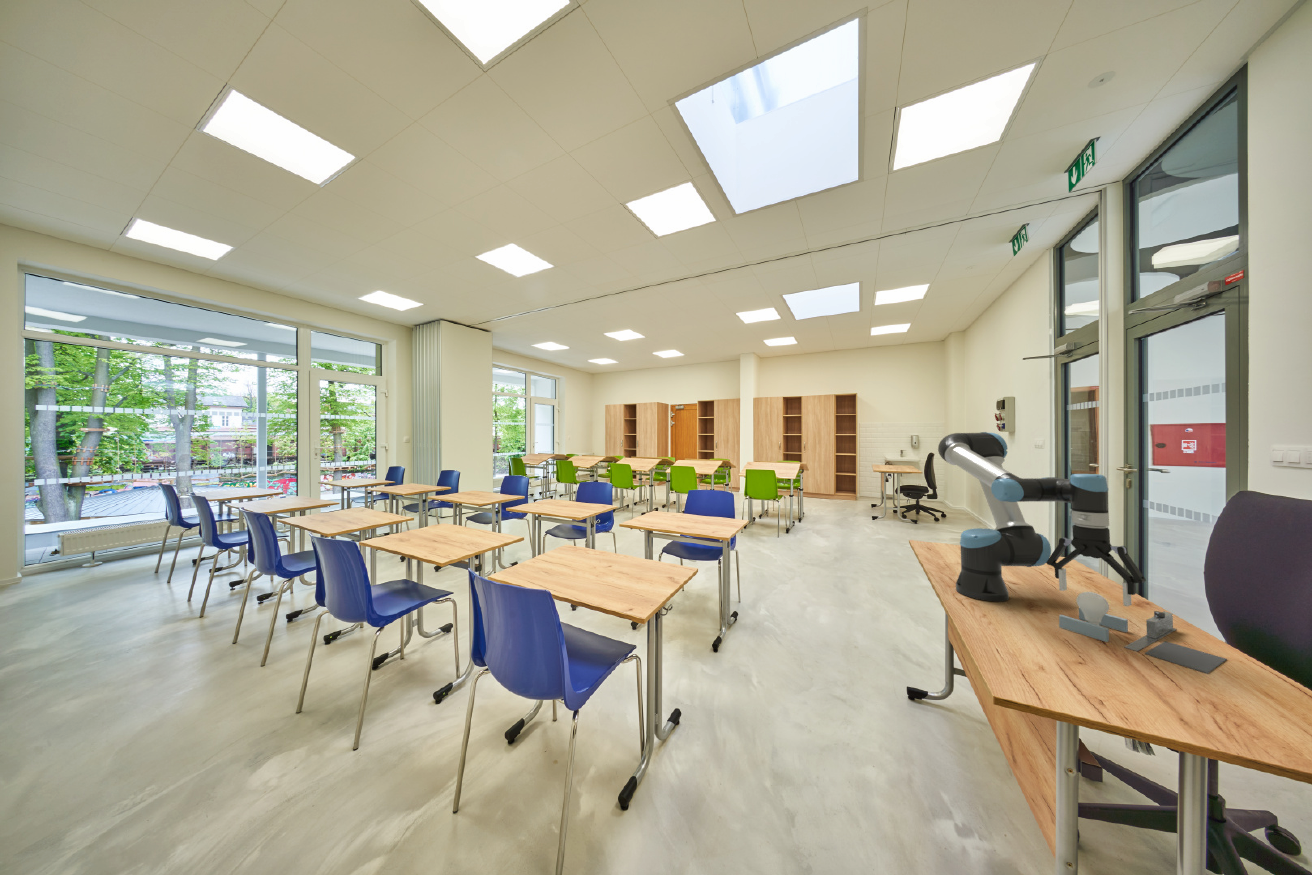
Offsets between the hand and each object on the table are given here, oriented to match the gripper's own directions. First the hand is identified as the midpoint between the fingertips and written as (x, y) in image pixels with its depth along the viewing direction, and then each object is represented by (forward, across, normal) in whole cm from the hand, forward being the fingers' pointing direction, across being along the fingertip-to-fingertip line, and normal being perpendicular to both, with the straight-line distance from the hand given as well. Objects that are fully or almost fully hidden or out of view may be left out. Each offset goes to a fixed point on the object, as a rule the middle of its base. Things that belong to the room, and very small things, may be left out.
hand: (1093, 597), depth 119 cm
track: (+10, +9, +7) cm, 15 cm away
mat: (+10, +16, 0) cm, 19 cm away
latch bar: (+10, +9, +14) cm, 19 cm away
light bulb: (+10, 0, 0) cm, 10 cm away
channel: (+10, 0, 0) cm, 10 cm away
